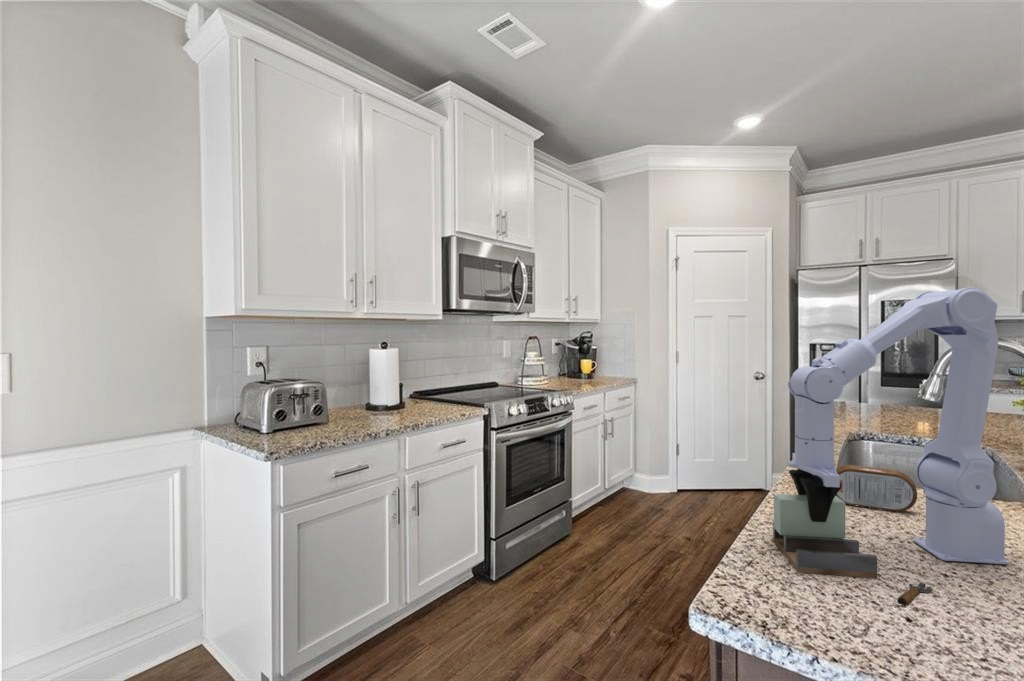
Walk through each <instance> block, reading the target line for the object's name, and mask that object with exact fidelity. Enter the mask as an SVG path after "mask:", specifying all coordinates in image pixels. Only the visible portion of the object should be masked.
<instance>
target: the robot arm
mask: <svg viewBox="0 0 1024 681" xmlns="http://www.w3.org/2000/svg"><path fill="white" fill-rule="evenodd" d="M997 309H998V303H997V302H996V301H995V300H994V299H993V298H992V297H991V296H990V295H989V294H988V293H987V292H985V290H982V289H980V288H977V287H971V286H970V287H964V288H960V289H951V290H941V291H924V292H922V293H920V294H918V295H917V296H915V298H912V299H910V300H908V301H906V302H904V304H903V306H902V307H901V308H900V309H899V310H897V311H896V312H895V313H894V314H892V315H891V316H889V317H888V318H887V319H885V320H884V321H883V322H882V323H880V324H879V325H877V326H876V327H875V328H874V329H873V330H871V331H869V332H868V333H867V334H865V335H864V336H863V337H862V338H860V339H858V338H857V339H856V338H848V339H840V340H838V341H836V342H835V344H834V345H835V347H834V348H833V349H832V350H830V351H828V352H827V353H826V354H824V355H823V356H821V357H815V358H814V359H812V364H811V366H809V365H808V366H802V367H801V366H800V367H798V368H797V369H796V370H795V371H794V372H793V373H792V376H791V377H790V380H789V381H787V387H788V390H789V392H790V393H791V395H793V397H794V398H793V399H794V452H792V453H791V454H792V456H791V457H792V460H787V462H786V464H787V466H788V467H790V468H793V469H789V470H788V473H789V475H790V478H792V481H793V483H794V485H795V488H796V492H797V495H807V500H808V507H809V514H810V518H811V520H812V521H813V522H826V520H827V517H828V514H829V511H830V507H831V504H832V502H833V499H834V497H835V496H836V494H837V493H838V491H839V490H840V489H841V483H840V475H838V474H837V472H836V469H837V468H836V467H837V466H836V464H835V400H838V399H839V398H840V397H841V395H842V393H843V389H844V387H845V386H846V385H848V384H849V383H851V382H852V381H854V380H855V379H857V378H858V377H860V376H861V375H862V374H864V373H865V372H867V371H868V370H870V369H871V368H873V367H874V366H875V365H876V363H877V356H878V355H879V354H880V353H881V352H883V351H885V350H887V349H888V348H890V347H892V346H893V345H895V344H897V343H898V342H901V340H904V339H906V338H907V337H909V336H910V335H911V334H914V333H915V332H917V331H918V330H922V329H925V330H927V331H929V332H931V333H932V334H935V335H937V336H939V337H940V338H941V339H943V340H944V341H945V343H946V344H948V345H949V346H950V347H951V356H950V361H949V362H950V363H949V367H948V373H947V378H946V385H945V386H946V387H945V391H944V397H943V402H942V408H941V414H940V421H939V425H938V432H937V437H936V438H935V439H934V440H932V441H931V442H929V443H928V444H926V445H925V446H923V447H924V448H923V453H922V455H921V457H920V458H919V460H918V461H917V462H916V464H915V467H914V474H915V475H914V476H915V479H916V480H917V482H918V484H920V485H921V486H922V487H923V488H922V490H923V493H924V494H925V538H920V537H919V538H918V537H917V538H916V537H914V538H913V541H912V542H915V543H916V544H917V545H919V546H920V547H922V548H923V549H925V550H926V551H927V552H929V553H930V554H931V555H934V556H935V557H936V558H938V559H940V560H941V561H949V562H965V563H966V562H967V563H979V564H981V563H982V564H993V565H994V564H995V565H1009V561H1008V560H1007V559H1006V558H1005V554H1006V552H1005V551H1006V549H1005V548H1006V547H1005V546H1006V545H1005V544H1006V543H1005V542H1006V541H1005V538H1006V536H1005V535H1006V533H1005V532H1006V531H1005V530H1006V524H1005V520H1004V516H1003V513H1002V512H1001V510H1000V508H998V506H996V504H994V503H993V502H991V501H992V500H993V498H994V496H995V494H996V493H997V481H996V478H995V474H994V467H995V462H994V460H993V459H992V458H991V457H990V456H989V455H988V454H987V452H986V451H985V450H984V449H983V448H982V440H983V435H984V430H985V429H984V428H985V422H986V417H987V412H988V407H989V400H990V395H991V394H990V393H991V388H992V384H993V376H994V372H995V365H996V359H997V353H998V348H999V336H998V331H997V328H996V327H997V326H996V324H995V323H996V322H995V321H996V315H997Z"/></svg>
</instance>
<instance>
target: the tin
mask: <svg viewBox="0 0 1024 681" xmlns="http://www.w3.org/2000/svg"><path fill="white" fill-rule="evenodd" d="M836 472H837V474H838V475H840V483H841V489H840V490H839V491H838V493H837V494H836V496H837V497H838V498H840V499H841V500H842V501H844V502H845V505H848V504H851V505H850V506H852V505H858V506H857V507H859V506H864V507H863V508H865V507H870V508H869V509H872V508H875V509H874V510H878V509H881V510H880V511H885V510H888V511H887V512H891V511H896V512H895V513H902V512H906V511H908V510H910V509H911V508H912V507H914V506H915V504H916V503H917V501H918V491H917V486H916V484H915V482H914V480H912V479H911V478H910V477H909V476H908V475H907V474H905V473H904V472H901V471H899V470H894V469H887V468H879V467H871V466H864V465H863V466H862V465H861V466H860V465H856V464H845V465H842V466H839V467H837V468H836Z"/></svg>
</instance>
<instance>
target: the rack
mask: <svg viewBox="0 0 1024 681" xmlns="http://www.w3.org/2000/svg"><path fill="white" fill-rule="evenodd" d="M772 541H773V543H774V544H775V545H776V546H777V547H778V549H779V550H780V551H781V552H782V554H783V555H784V556H785V558H786V559H787V560H788V561H789V563H790V564H791V565H792V566H793V568H794V569H795V570H796V571H797V573H802V574H806V573H807V574H817V575H818V574H819V575H832V576H833V575H834V576H846V577H859V578H872V579H878V556H877V555H876V554H870V553H860V541H859V540H858V539H851V538H850V539H848V538H846V539H843V538H825V537H808V536H790V535H780V534H779V533H778V532H777V531H776V529H775V528H774V522H773V523H772Z"/></svg>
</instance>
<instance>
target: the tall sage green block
mask: <svg viewBox="0 0 1024 681" xmlns="http://www.w3.org/2000/svg"><path fill="white" fill-rule="evenodd" d="M773 523H774V528H775V529H776V531H777V532H778V533H779V534H780V535H790V536H808V537H825V538H843V539H847V538H846V503H845V502H844V501H842V500H841V499H840V498H838V497H837V496H835V497H834V499H833V502H832V504H831V507H830V511H829V514H828V517H827V520H826V522H813V521H812V520H811V518H810V514H809V507H808V500H807V495H798V494H787V493H784V494H783V493H773Z"/></svg>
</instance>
